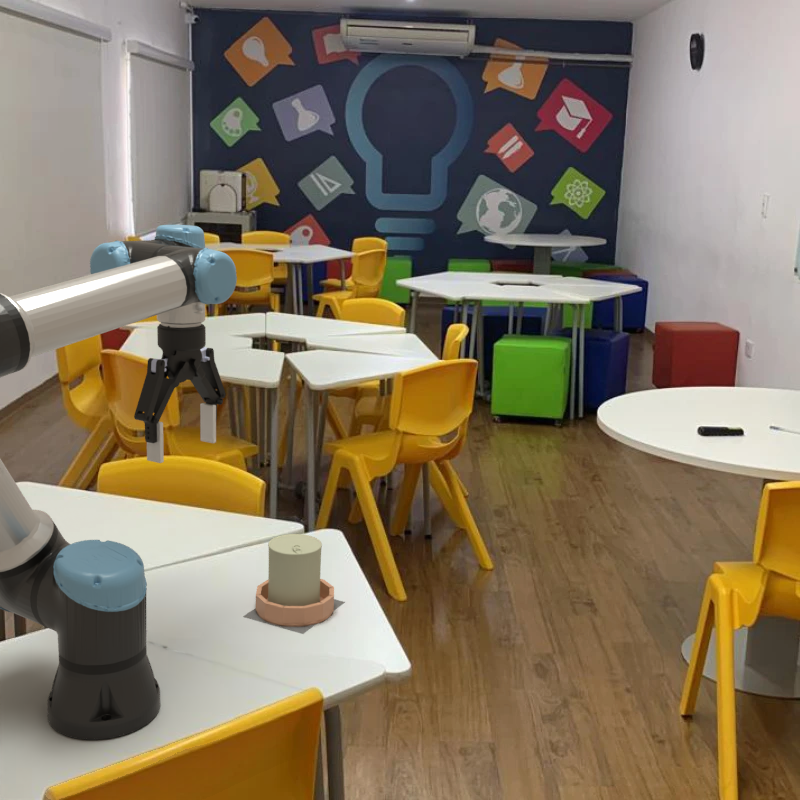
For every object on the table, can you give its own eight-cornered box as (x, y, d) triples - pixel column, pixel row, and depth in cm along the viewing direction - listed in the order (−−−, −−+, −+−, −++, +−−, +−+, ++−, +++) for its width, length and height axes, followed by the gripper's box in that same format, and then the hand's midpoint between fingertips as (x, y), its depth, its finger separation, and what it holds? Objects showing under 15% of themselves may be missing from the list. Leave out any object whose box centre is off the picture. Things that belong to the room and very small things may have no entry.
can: (271, 620, 163) (272, 553, 161) (263, 596, 172) (264, 532, 169) (325, 615, 166) (327, 549, 163) (315, 592, 175) (316, 529, 172)
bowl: (307, 633, 161) (308, 614, 160) (240, 614, 166) (240, 596, 165) (347, 603, 172) (347, 585, 171) (283, 586, 178) (284, 569, 177)
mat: (303, 635, 161) (303, 633, 161) (242, 618, 166) (242, 616, 166) (345, 604, 173) (345, 602, 173) (287, 588, 178) (287, 586, 178)
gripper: (147, 336, 143) (150, 474, 148) (246, 316, 165) (245, 437, 170) (108, 330, 146) (111, 466, 151) (210, 312, 168) (210, 430, 173)
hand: (182, 451), depth 161 cm, fingers open, 13 cm apart
